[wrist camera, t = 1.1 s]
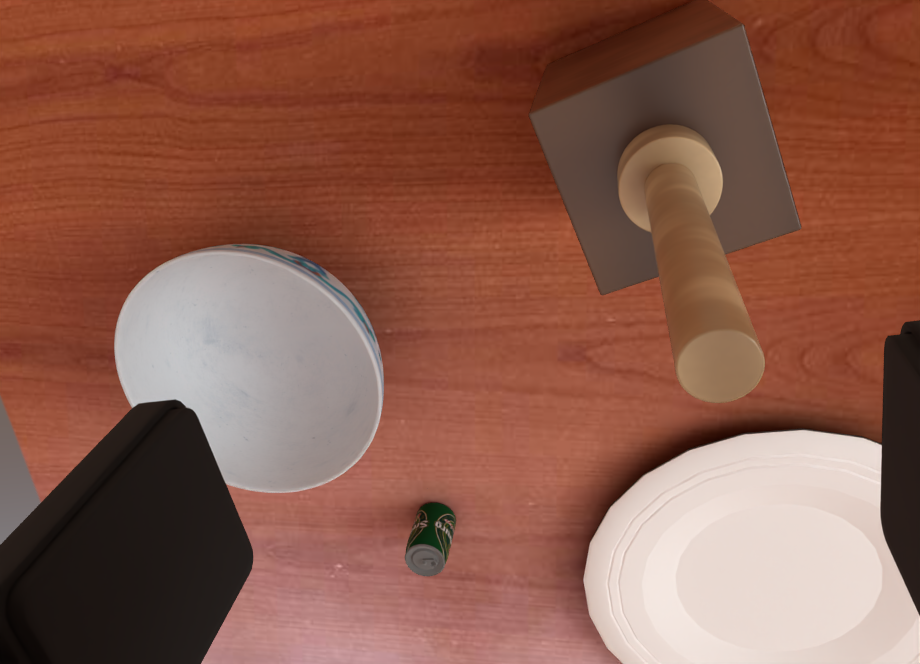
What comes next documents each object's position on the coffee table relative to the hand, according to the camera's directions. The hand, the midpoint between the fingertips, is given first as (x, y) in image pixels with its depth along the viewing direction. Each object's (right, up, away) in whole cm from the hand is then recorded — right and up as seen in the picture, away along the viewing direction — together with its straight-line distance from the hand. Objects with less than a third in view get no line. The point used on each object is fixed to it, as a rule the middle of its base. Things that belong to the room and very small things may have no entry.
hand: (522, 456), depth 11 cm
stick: (+7, +8, +19) cm, 22 cm away
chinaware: (-11, +3, +39) cm, 40 cm away
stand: (+9, +13, +30) cm, 33 cm away
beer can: (-2, -11, +44) cm, 46 cm away
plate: (+20, -14, +42) cm, 49 cm away
